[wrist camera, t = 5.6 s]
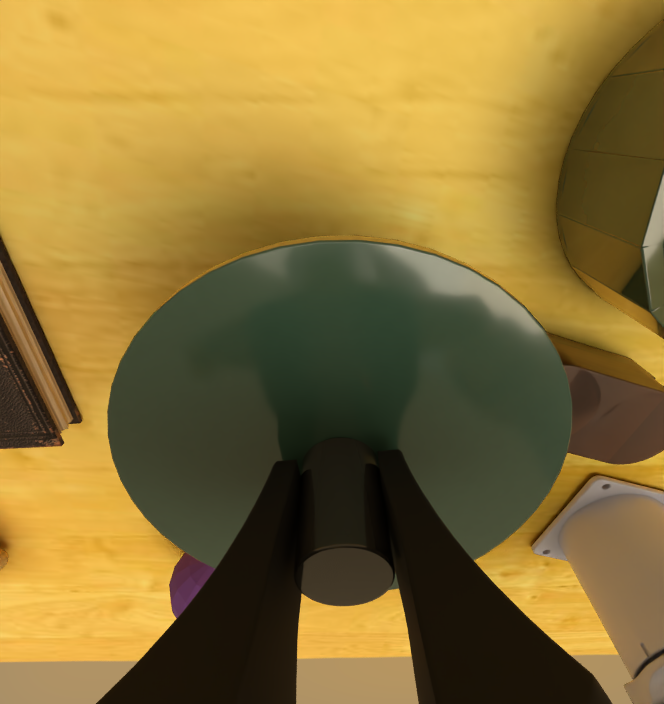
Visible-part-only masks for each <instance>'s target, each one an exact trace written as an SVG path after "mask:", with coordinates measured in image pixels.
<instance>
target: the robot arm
mask: <svg viewBox="0 0 664 704" xmlns="http://www.w3.org/2000/svg"><path fill="white" fill-rule="evenodd" d="M377 452H378V463H379V472H380V478H381V485H382V492H383V498H384V502H385V507H386V513H387V520H388V526H389V533H390V540H391V546H392V553H393V560H394V566H395V573H396V577H397V581H398V586H399V590H400V594H401V599H402V603H403V607H404V612H405V617H406V622H407V627H408V634H409V640H410V647H411V654H412V660H413V667H414V674H415V681H416V688H417V694H418V701H419V704H612V703H611V701H610V699H609V698H608V696H607V695H606V693H605V692H604V690H603V689H602V687H601V686H600V684H599V683H598V681H597V680H596V679H595V677H594V676H593V674H592V673H590V672H589V671H588V670H587V669H586V668H585V667H583V666H582V665H581V664H580V663H578V662H577V661H576V660H575V659H574V658H573V657H571V656H570V655H569V654H568V653H567V652H566V651H565V650H563V649H562V648H561V647H560V646H559V645H558V644H557V643H555V642H554V641H553V640H552V639H551V638H550V637H549V636H548V635H546V634H545V633H544V632H543V631H542V630H541V629H540V628H539V627H538V626H537V625H536V624H535V623H533V622H532V621H531V620H530V619H529V618H528V617H527V616H526V615H525V614H524V613H523V612H522V611H521V610H520V609H519V608H518V607H517V606H516V605H515V604H514V603H513V602H512V601H511V600H510V599H509V598H508V597H507V596H506V595H505V594H504V593H503V592H502V591H501V590H500V589H499V588H498V587H497V586H496V585H495V584H494V583H493V582H492V581H491V580H490V578H489V577H488V576H487V575H486V574H485V573H484V572H483V571H482V570H481V568H480V567H479V566H478V565H477V564H476V563H475V562H474V560H473V559H472V558H471V557H470V556H469V555H468V553H467V552H466V551H465V550H464V549H463V547H462V546H461V545H460V544H459V542H458V541H457V540H456V539H455V537H454V536H453V535H452V533H451V532H450V531H449V529H448V528H447V527H446V525H445V524H444V523H443V521H442V520H441V519H440V517H439V516H438V514H437V513H436V511H435V510H434V508H433V507H432V505H431V504H430V502H429V501H428V499H427V498H426V496H425V495H424V493H423V492H422V490H421V488H420V487H419V485H418V483H417V482H416V480H415V478H414V476H413V474H412V473H411V471H410V469H409V467H408V465H407V463H406V460H405V458H404V456H403V453H402V452H401V451H400V450H399V449H395V450H385V451H377ZM300 482H301V476H300V472H299V467H298V463H297V459H295V460H285V461H277V462H276V463H275V464H274V465H273V467H272V470H271V472H270V474H269V476H268V479H267V481H266V483H265V485H264V487H263V489H262V491H261V493H260V495H259V497H258V499H257V501H256V503H255V505H254V506H253V508H252V510H251V512H250V514H249V516H248V517H247V519H246V521H245V523H244V525H243V526H242V528H241V530H240V531H239V533H238V534H237V536H236V538H235V539H234V541H233V543H232V544H231V546H230V547H229V549H228V551H227V552H226V554H225V555H224V557H223V558H222V560H221V561H220V563H219V564H218V566H217V567H216V569H215V570H214V571H213V573H212V574H211V576H210V577H209V578H208V580H207V581H206V582H205V584H204V585H203V586H202V588H201V589H200V590H199V592H198V593H197V594H196V595H195V597H194V598H193V599H192V601H191V602H190V603H189V604H188V606H187V607H186V608H185V609H184V611H183V612H182V613H181V614H180V616H179V617H178V618H177V619H176V620H175V621H174V623H173V624H172V625H171V626H170V627H169V628H168V629H167V631H166V632H165V633H164V634H163V635H162V636H161V637H160V638H159V639H158V641H157V642H156V643H155V644H154V645H153V646H152V647H151V648H150V649H149V651H148V652H147V653H146V654H145V655H144V656H143V657H142V658H141V659H140V660H139V661H138V662H137V664H136V665H135V666H134V667H133V668H132V669H131V670H130V671H129V672H128V673H127V674H126V675H125V676H124V677H123V678H122V679H121V680H120V681H119V682H118V683H117V684H116V685H115V686H114V687H113V688H112V689H111V690H110V691H109V692H108V693H106V694H105V695H104V697H102V699H100V700H99V701H98V702H97V703H96V704H296V674H297V636H298V622H299V612H300V603H301V594H302V592H301V591H300V590H299V589H298V588H297V586H296V584H295V581H294V562H295V548H296V535H297V522H298V508H299V495H300ZM532 550H533V552H534V553H535V554H537V555H542V556H547V557H552V558H556V559H561V560H566V561H568V562H569V563H570V565H571V567H572V569H573V571H574V573H575V574H576V576H577V578H578V580H579V582H580V584H581V585H582V587H583V589H584V591H585V593H586V595H587V596H588V598H589V600H590V602H591V604H592V606H593V607H594V609H595V611H596V613H597V615H598V617H599V618H600V620H601V622H602V624H603V626H604V628H605V629H606V631H607V633H608V635H609V637H610V639H611V640H612V642H613V644H614V646H615V648H616V650H617V651H618V653H619V655H620V657H621V659H622V661H623V662H624V664H625V666H626V668H627V670H628V672H629V673H630V675H631V677H632V679H633V680H632V681H631V682H629V683H626V684H625V685H624V688H625V689H626V692H627V693H628V695H629V697H630V699H631V701H632V703H633V704H664V491H660V490H656V489H652V488H648V487H644V486H640V485H637V484H633V483H629V482H625V481H621V480H617V479H613V478H609V477H605V476H600V475H597V476H594V477H592V478H591V479H590V480H589V481H588V482H587V483H586V484H585V485H584V487H583V488H582V489H581V490H580V491H579V492H578V493H577V495H576V496H575V497H574V498H573V499H572V500H571V501H570V503H569V504H568V505H567V506H566V507H565V508H564V509H563V511H562V512H561V513H560V514H559V515H558V516H557V517H556V519H555V520H554V521H553V522H552V523H551V524H550V525H549V527H548V528H547V529H546V530H545V531H544V532H543V533H542V535H541V536H540V537H539V538H538V539H537V540H536V541H535V543H534V544H533V545H532Z"/></svg>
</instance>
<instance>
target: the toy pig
mask: <svg viewBox="0 0 664 704" xmlns="http://www.w3.org/2000/svg"><path fill="white" fill-rule="evenodd" d="M7 562H8V554H7V552H6V551H4V550H1V549H0V570H1V569H2V568H3V567H4V566H5V565H6V564H7Z"/></svg>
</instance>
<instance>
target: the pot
mask: <svg viewBox="0 0 664 704" xmlns="http://www.w3.org/2000/svg"><path fill="white" fill-rule="evenodd" d="M557 224H558V231H559V237H560V241H561V244H562V247H563V250H564V253H565V255H566V257H567V259H568V261H569V263H570V265H571V267H572V268H573V269H574V271H575V272H576V273H577V274H578V276H579V277H580V278H581V279H582V280H583V281H584V282H585V283H586V284H587V285H588V286H589V287H590V288H592V289H593V290H594V291H595V292H596V293H597V294H598V295H599V297H600V298H602V299H603V300H605V301H606V302H608V303H609V304H611V305H613V306H614V307H616V308H617V309H619V310H620V311H622V312H623V313H625V314H626V315H628V316H629V317H631V318H633V319H634V320H636V321H637V322H639V323H640V324H642V325H643V326H645V327H646V328H648V329H649V330H651V331H652V332H654V333H656V334H657V335H659V336H660V337H662V338H663V339H664V20H663V21H661V22H660V23H659V24H658V25H656V26H655V27H654V28H653V29H652V30H651V31H650V32H648V33H647V34H646V35H645V36H644V37H643V38H642V39H641V40H640V41H639V42H638V43H637V44H636V45H635V46H633V47H632V49H631V50H630V51H629V52H628V53H627V54H626V55H625V56H624V58H623V59H622V60H621V61H620V62H619V63H618V64H617V65H616V67H615V68H614V69H613V70H612V72H611V73H610V74H609V76H608V77H607V78H606V80H605V81H604V82H603V84H602V85H601V86H600V88H599V89H598V91H597V92H596V94H595V95H594V97H593V99H592V100H591V102H590V104H589V105H588V107H587V109H586V110H585V112H584V114H583V115H582V118H581V120H580V122H579V124H578V126H577V128H576V130H575V132H574V134H573V136H572V139H571V142H570V144H569V147H568V150H567V153H566V156H565V158H564V162H563V166H562V170H561V175H560V179H559V185H558V193H557Z"/></svg>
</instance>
